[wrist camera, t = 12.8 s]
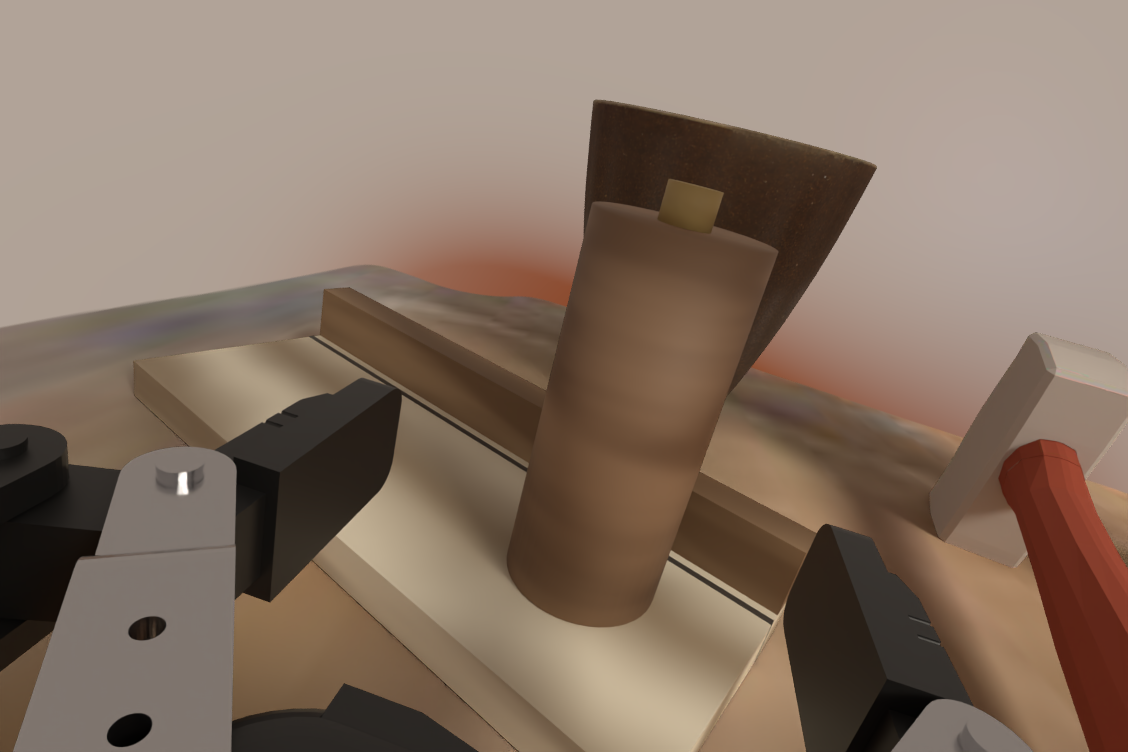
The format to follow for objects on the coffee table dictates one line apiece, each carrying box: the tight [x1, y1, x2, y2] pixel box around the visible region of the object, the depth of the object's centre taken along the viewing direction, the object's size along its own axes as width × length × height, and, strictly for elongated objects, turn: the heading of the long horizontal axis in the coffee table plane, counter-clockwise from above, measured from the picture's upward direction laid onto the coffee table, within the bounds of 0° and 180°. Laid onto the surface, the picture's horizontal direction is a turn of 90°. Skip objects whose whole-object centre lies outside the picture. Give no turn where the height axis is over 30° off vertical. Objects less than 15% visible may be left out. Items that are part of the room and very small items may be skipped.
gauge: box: [507, 179, 778, 628], centre depth 20 cm, size 10×5×12 cm, turn 168°
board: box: [133, 287, 817, 752], centre depth 23 cm, size 10×25×4 cm, turn 53°
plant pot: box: [584, 100, 877, 395], centre depth 36 cm, size 15×15×16 cm
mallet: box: [929, 332, 1128, 752], centre depth 19 cm, size 11×4×30 cm
